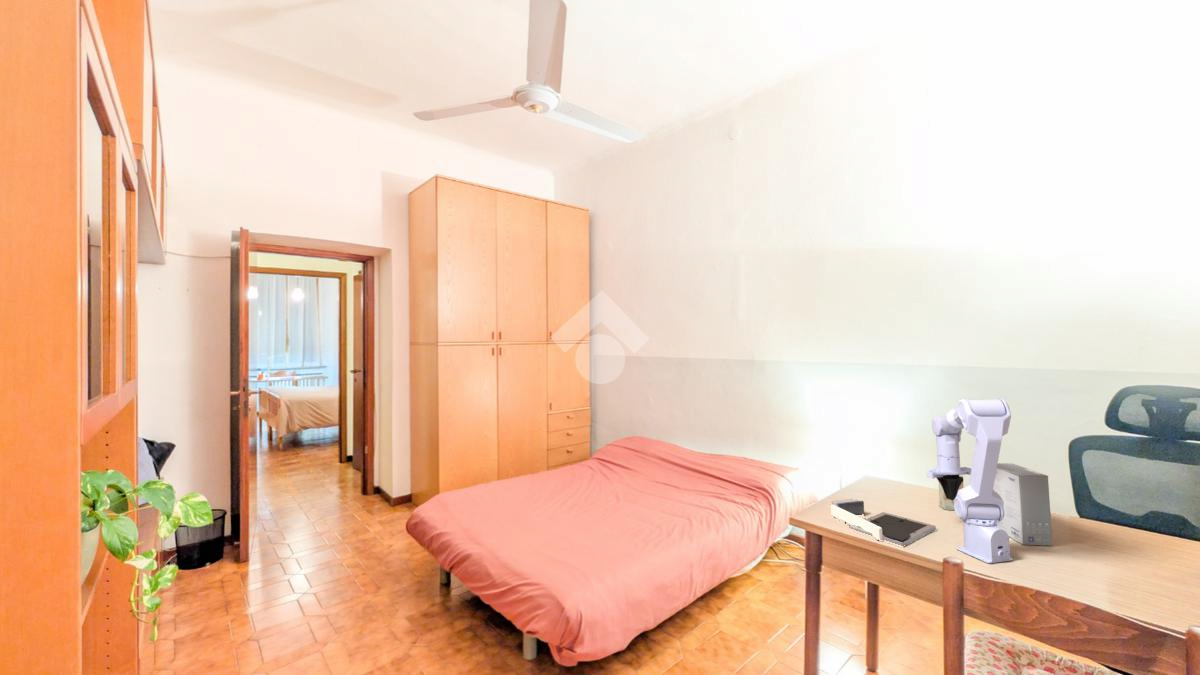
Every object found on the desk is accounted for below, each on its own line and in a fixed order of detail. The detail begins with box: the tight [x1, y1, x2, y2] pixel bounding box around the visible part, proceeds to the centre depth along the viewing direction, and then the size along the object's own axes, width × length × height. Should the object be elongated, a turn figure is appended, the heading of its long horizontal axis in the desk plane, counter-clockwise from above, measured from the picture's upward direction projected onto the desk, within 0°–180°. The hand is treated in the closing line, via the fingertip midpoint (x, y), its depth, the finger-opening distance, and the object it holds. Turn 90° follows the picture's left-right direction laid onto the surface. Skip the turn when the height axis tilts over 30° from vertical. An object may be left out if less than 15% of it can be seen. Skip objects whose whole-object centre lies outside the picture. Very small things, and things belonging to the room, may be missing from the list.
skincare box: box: [938, 475, 964, 511], centre depth 164 cm, size 6×4×12 cm
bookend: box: [837, 500, 865, 515], centre depth 159 cm, size 3×10×5 cm, turn 100°
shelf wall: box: [830, 504, 883, 540], centre depth 151 cm, size 22×1×4 cm, turn 10°
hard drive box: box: [993, 462, 1053, 547], centre depth 140 cm, size 16×8×20 cm, turn 168°
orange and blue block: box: [831, 498, 860, 506], centre depth 162 cm, size 4×9×5 cm, turn 100°
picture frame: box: [848, 511, 937, 546], centre depth 148 cm, size 16×3×21 cm
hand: (950, 499), depth 147 cm, fingers closed
